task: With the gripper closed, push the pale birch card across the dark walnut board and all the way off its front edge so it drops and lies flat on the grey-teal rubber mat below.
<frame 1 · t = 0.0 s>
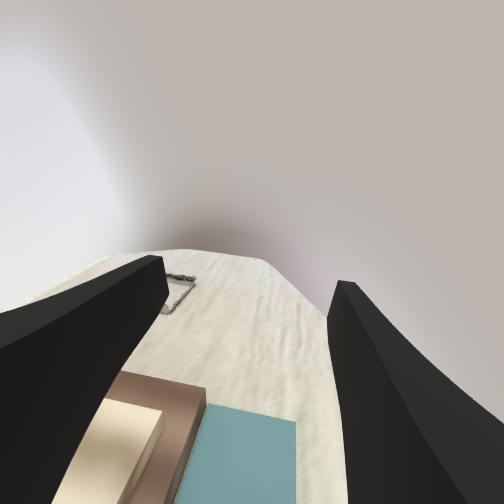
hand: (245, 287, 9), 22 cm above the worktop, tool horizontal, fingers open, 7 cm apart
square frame: (155, 294, 44), on the worktop
walnut board: (106, 486, 19), on the worktop
birch card: (92, 467, 18), point 3 cm above the worktop, touching walnut board
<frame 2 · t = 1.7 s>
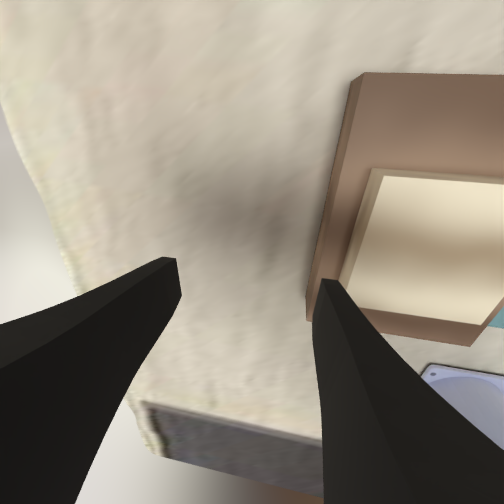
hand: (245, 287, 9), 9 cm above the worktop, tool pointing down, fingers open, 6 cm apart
walnut board: (409, 223, 16), on the worktop
birch card: (421, 242, 14), point 3 cm above the worktop, touching walnut board
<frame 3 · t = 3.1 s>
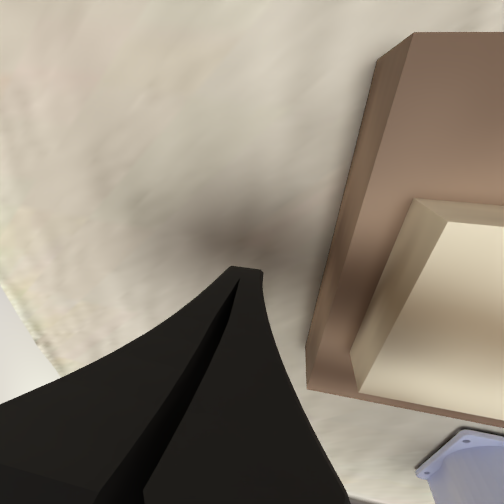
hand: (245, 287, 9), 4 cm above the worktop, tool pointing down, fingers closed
walnut board: (451, 266, 11), on the worktop
birch card: (481, 306, 9), point 3 cm above the worktop, touching walnut board
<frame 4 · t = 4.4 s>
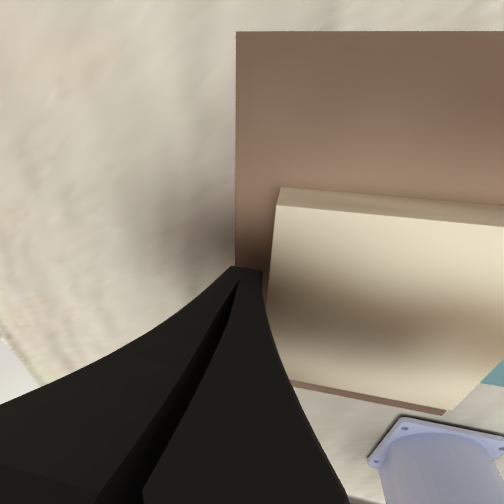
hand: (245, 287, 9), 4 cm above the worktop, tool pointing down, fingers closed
walnut board: (358, 255, 12), on the worktop
birch card: (366, 290, 9), point 3 cm above the worktop, touching gripper
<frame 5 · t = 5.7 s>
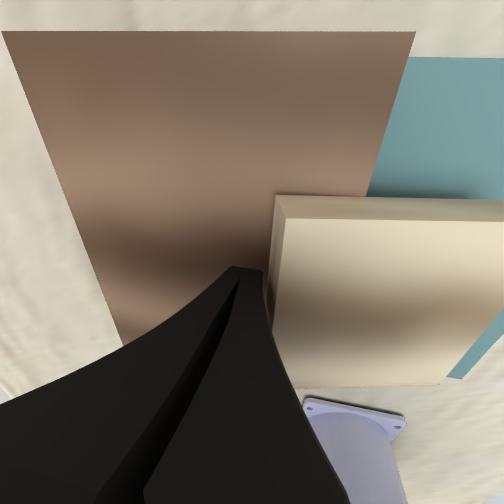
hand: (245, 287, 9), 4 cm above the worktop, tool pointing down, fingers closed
walnut board: (221, 238, 13), on the worktop
birch card: (359, 288, 10), point 3 cm above the worktop, tilted 13°, touching walnut board
rubber mat: (433, 264, 12), on the worktop
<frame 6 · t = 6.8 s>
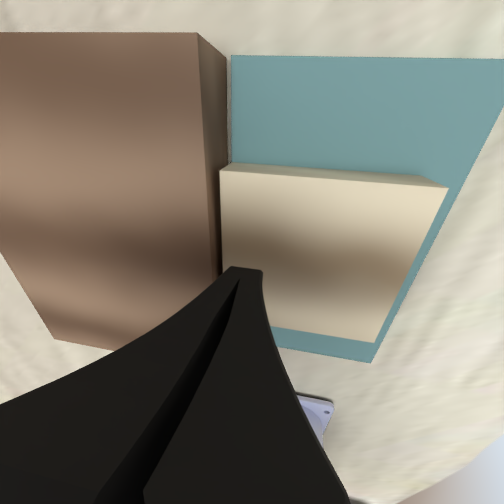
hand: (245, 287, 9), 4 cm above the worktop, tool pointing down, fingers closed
walnut board: (132, 227, 14), on the worktop
birch card: (306, 248, 12), resting on rubber mat
rubber mat: (320, 250, 12), on the worktop
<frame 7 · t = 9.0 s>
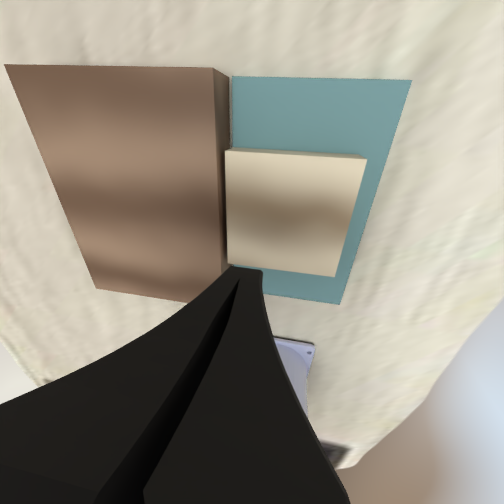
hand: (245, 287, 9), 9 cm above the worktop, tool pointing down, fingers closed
walnut board: (158, 199, 18), on the worktop
birch card: (286, 210, 17), resting on rubber mat
rubber mat: (297, 212, 17), on the worktop
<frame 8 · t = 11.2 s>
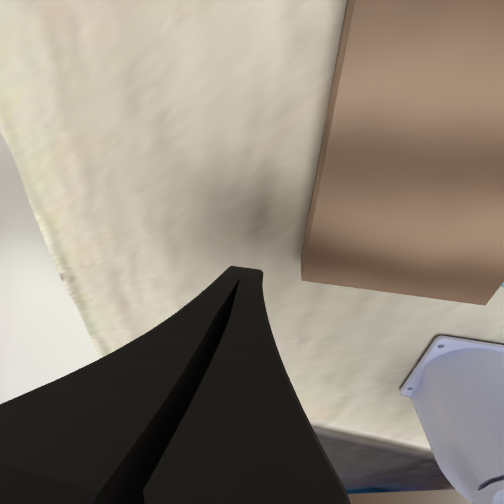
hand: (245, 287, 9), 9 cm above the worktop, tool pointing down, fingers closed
walnut board: (417, 163, 14), on the worktop
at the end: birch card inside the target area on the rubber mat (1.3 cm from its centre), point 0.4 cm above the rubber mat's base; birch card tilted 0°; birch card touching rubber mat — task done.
